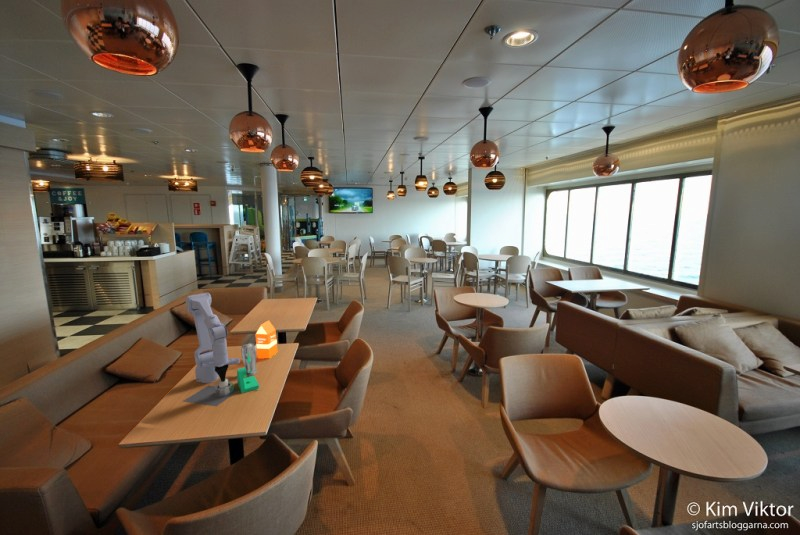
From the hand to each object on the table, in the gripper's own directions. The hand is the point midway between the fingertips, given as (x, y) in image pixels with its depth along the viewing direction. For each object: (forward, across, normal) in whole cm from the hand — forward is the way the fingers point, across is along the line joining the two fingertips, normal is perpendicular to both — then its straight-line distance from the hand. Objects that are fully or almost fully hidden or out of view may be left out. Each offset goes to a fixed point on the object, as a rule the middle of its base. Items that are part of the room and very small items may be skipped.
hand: (223, 380), depth 150 cm
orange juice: (+7, +18, +40) cm, 44 cm away
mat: (+7, -5, 0) cm, 8 cm away
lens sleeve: (+7, 0, 0) cm, 7 cm away
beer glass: (+7, +10, +19) cm, 22 cm away
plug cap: (+6, 0, 0) cm, 6 cm away
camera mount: (+7, +10, +3) cm, 12 cm away
